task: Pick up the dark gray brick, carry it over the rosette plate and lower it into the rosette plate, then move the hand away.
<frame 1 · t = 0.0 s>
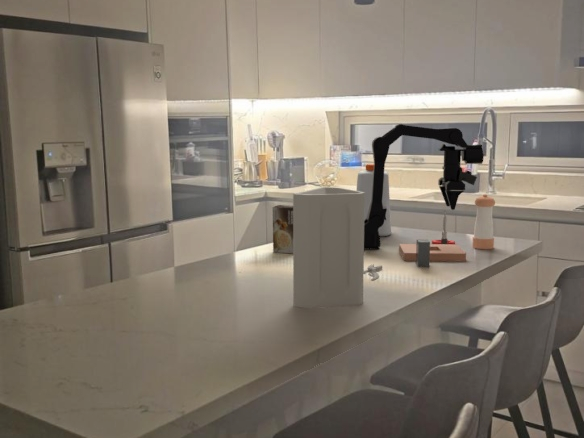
hand: (450, 208, 235), 15 cm above the kitchen island, fingers open, 9 cm apart
pliers: (367, 275, 199), on the kitchen island
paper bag: (334, 300, 170), on the kitchen island
plastic bottle: (372, 233, 269), on the kitchen island
tow hook: (443, 244, 247), on the kitchen island
pepper shaker: (482, 247, 239), on the kitchen island
dark gray brick: (422, 265, 210), on the kitchen island
coffee box: (287, 252, 232), on the kitchen island
rosette plate: (431, 255, 225), on the kitchen island
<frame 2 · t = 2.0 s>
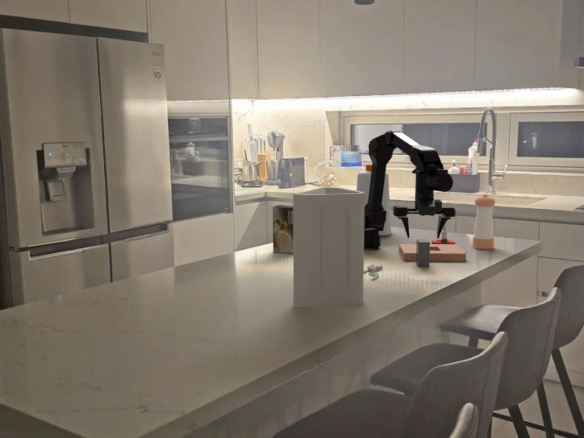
hand: (423, 238, 209), 9 cm above the kitchen island, fingers open, 9 cm apart
nothing on the kitchen island moved.
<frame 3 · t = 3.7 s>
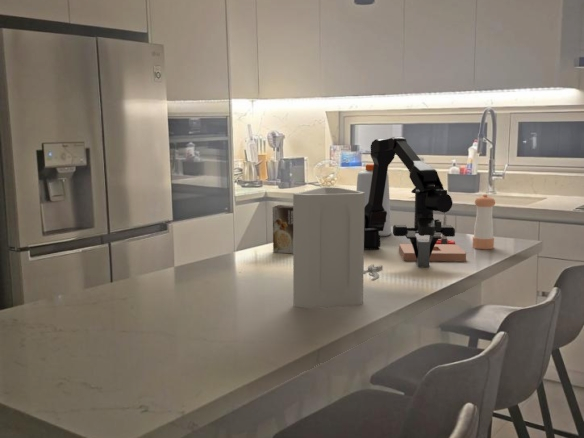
hand: (422, 257, 210), 3 cm above the kitchen island, fingers closed on dark gray brick, 3 cm apart
dark gray brick: (422, 265, 210), on the kitchen island, touching gripper
everything else where it was.
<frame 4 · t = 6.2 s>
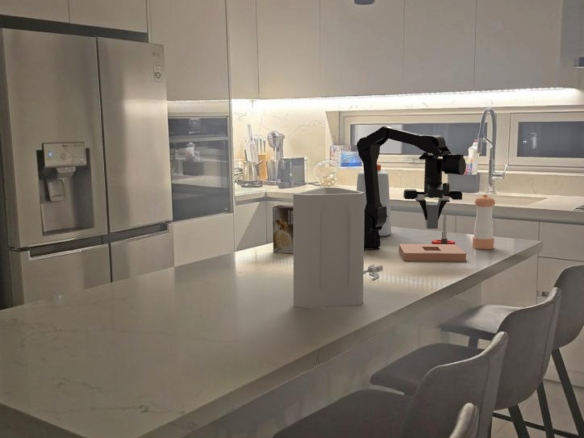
hand: (431, 220, 222), 12 cm above the kitchen island, fingers closed on dark gray brick, 3 cm apart
dark gray brick: (431, 227, 222), point 10 cm above the kitchen island, touching gripper
everything else where it was.
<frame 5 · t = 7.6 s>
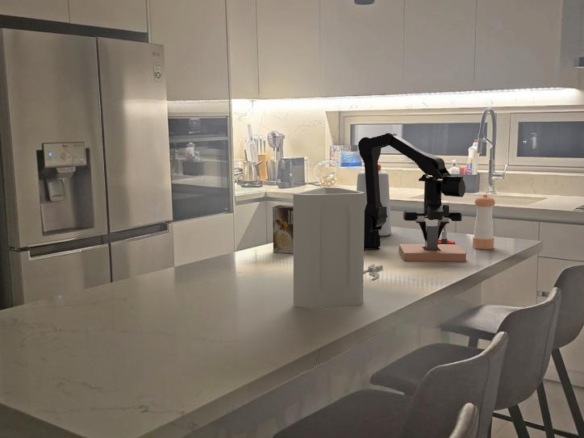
hand: (431, 241, 224), 5 cm above the kitchen island, fingers closed on dark gray brick, 3 cm apart
dark gray brick: (431, 248, 224), point 3 cm above the kitchen island, touching gripper
everything else where it was.
when the fingers open (3 cm above the kitchen island, at t = 8.6 s): dark gray brick stays where it is, resting in rosette plate.
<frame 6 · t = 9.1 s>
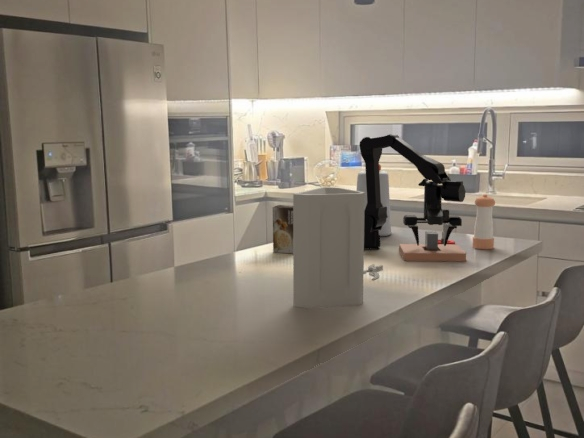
hand: (431, 245, 224), 3 cm above the kitchen island, fingers open, 9 cm apart
dark gray brick: (431, 255, 225), resting in rosette plate
everything else where it was.
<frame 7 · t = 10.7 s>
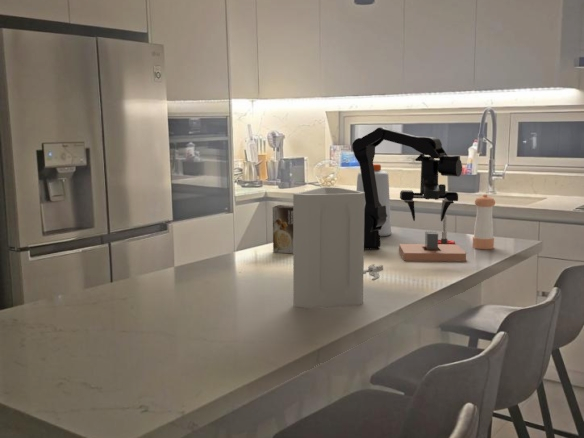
hand: (427, 220, 224), 12 cm above the kitchen island, fingers open, 9 cm apart
nothing on the kitchen island moved.
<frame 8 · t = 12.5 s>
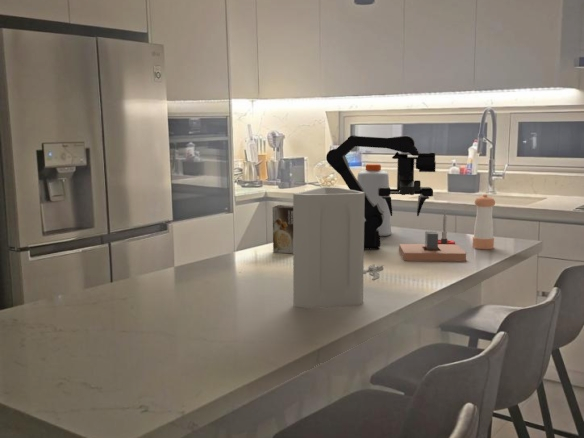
hand: (404, 215, 234), 12 cm above the kitchen island, fingers open, 9 cm apart
nothing on the kitchen island moved.
at the end: dark gray brick 0.0 cm off-centre on the rosette plate, point 0.0 cm above the rosette plate's base; dark gray brick tilted 0°; the gripper is holding nothing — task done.
